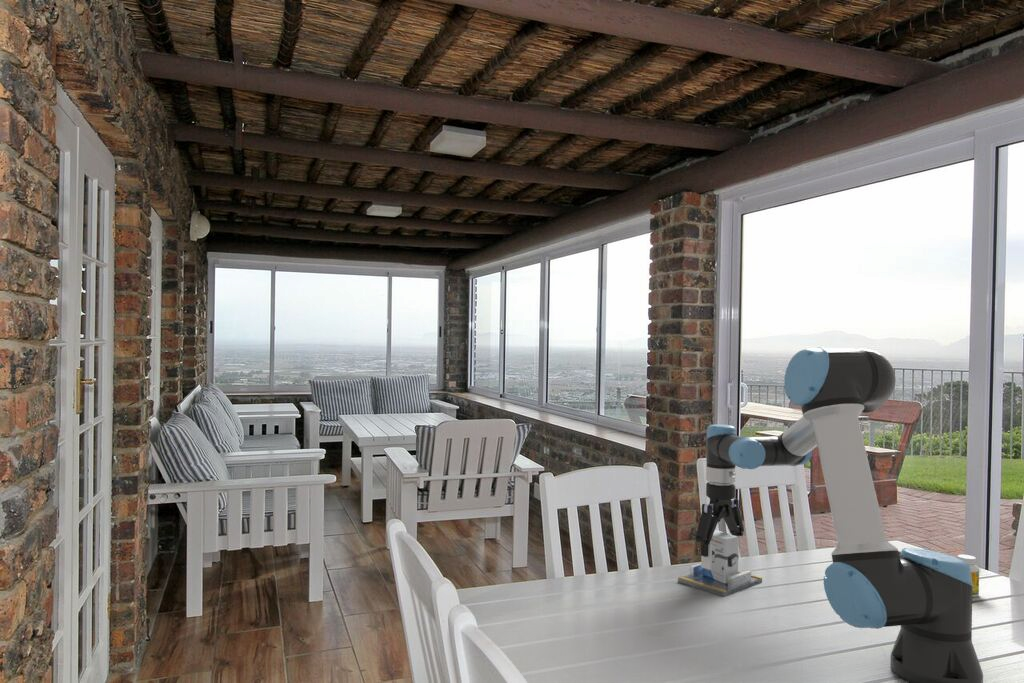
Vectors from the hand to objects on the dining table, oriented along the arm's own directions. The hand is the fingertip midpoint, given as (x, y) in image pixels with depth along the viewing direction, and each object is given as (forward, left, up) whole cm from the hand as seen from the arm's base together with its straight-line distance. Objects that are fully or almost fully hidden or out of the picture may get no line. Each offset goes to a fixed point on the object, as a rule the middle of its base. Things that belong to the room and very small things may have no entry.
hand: (720, 563), depth 187 cm
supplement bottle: (+42, -45, -5) cm, 62 cm away
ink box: (0, 0, -4) cm, 4 cm away
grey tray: (0, 0, -5) cm, 5 cm away
